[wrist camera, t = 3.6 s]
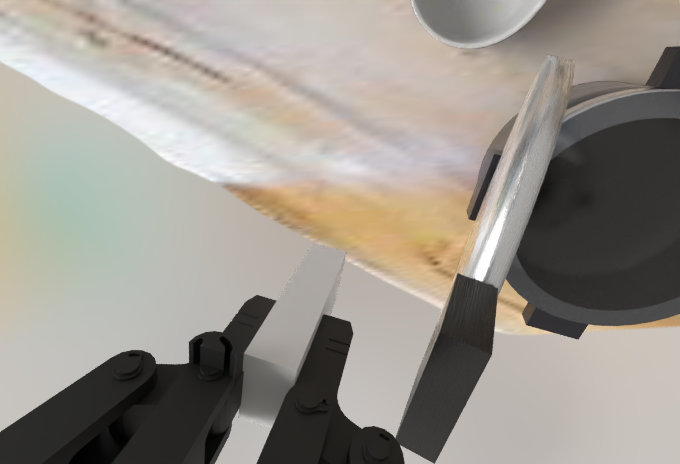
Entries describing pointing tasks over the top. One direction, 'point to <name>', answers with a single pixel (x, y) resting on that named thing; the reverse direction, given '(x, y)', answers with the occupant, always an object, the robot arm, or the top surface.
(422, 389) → the lid
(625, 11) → the top surface
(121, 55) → the top surface
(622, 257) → the cooker
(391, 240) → the top surface
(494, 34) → the teacup
